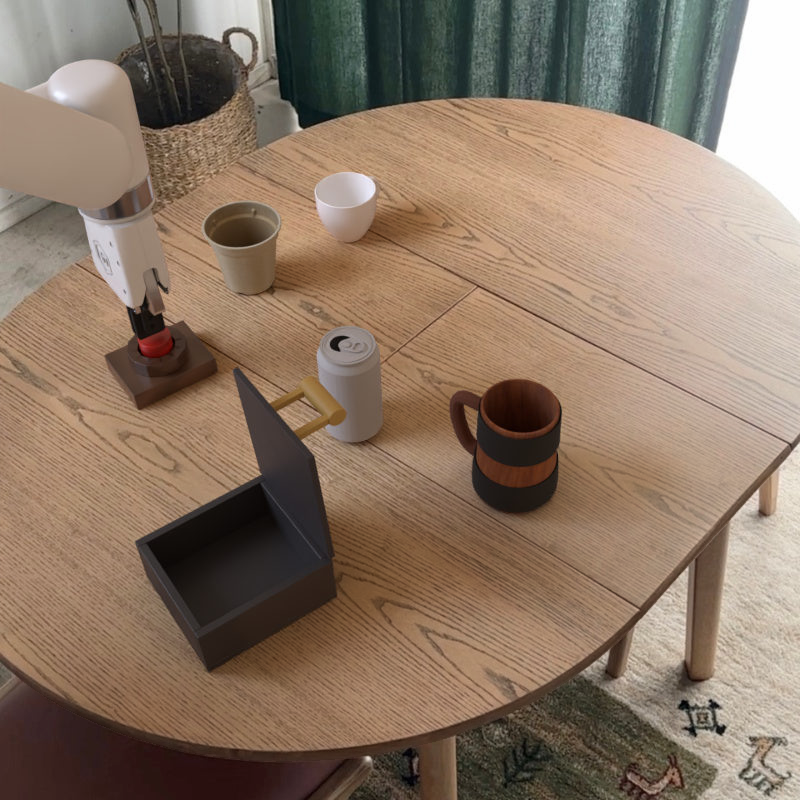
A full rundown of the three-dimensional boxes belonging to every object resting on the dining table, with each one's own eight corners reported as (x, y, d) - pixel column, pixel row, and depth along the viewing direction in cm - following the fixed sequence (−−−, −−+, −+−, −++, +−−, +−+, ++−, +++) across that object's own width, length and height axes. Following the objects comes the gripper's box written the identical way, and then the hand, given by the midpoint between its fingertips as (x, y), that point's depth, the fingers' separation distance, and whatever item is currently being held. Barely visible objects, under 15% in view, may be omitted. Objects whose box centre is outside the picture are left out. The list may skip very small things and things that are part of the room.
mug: (471, 428, 113) (473, 348, 105) (571, 474, 109) (582, 395, 100) (427, 480, 109) (426, 402, 100) (530, 531, 104) (538, 453, 95)
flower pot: (304, 274, 132) (297, 217, 126) (253, 315, 127) (243, 258, 121) (248, 247, 136) (239, 191, 130) (197, 286, 131) (185, 229, 125)
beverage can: (339, 397, 117) (331, 316, 108) (393, 412, 115) (389, 331, 107) (314, 437, 113) (304, 356, 104) (369, 453, 111) (363, 372, 103)
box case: (208, 673, 94) (197, 638, 90) (147, 577, 101) (134, 541, 97) (337, 596, 99) (332, 560, 95) (270, 510, 107) (263, 473, 102)
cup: (306, 236, 137) (301, 193, 132) (356, 199, 143) (353, 156, 138) (351, 259, 134) (348, 215, 129) (401, 220, 139) (400, 177, 134)
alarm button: (149, 363, 117) (146, 351, 115) (135, 345, 119) (131, 333, 117) (178, 349, 118) (175, 338, 117) (164, 331, 120) (161, 320, 119)
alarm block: (138, 410, 117) (130, 384, 114) (108, 369, 121) (100, 343, 118) (218, 372, 120) (212, 346, 118) (186, 333, 125) (180, 308, 122)
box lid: (308, 459, 84) (369, 424, 86) (231, 369, 91) (290, 339, 93) (329, 560, 95) (384, 526, 97) (260, 472, 102) (311, 443, 104)
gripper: (48, 168, 106) (90, 308, 119) (109, 241, 97) (147, 384, 110) (117, 143, 109) (151, 283, 122) (183, 212, 100) (212, 355, 113)
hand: (149, 330), depth 116 cm, fingers closed
